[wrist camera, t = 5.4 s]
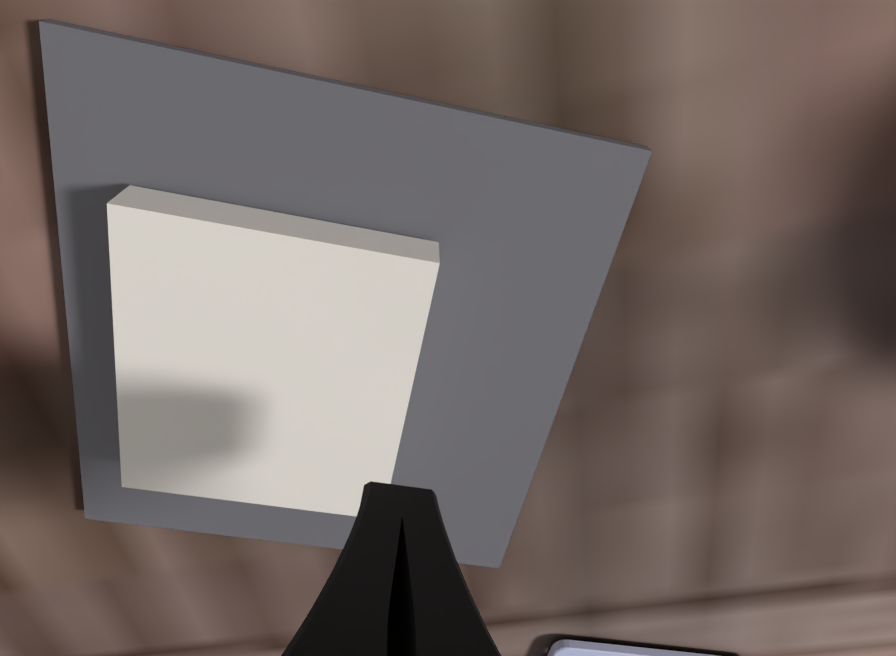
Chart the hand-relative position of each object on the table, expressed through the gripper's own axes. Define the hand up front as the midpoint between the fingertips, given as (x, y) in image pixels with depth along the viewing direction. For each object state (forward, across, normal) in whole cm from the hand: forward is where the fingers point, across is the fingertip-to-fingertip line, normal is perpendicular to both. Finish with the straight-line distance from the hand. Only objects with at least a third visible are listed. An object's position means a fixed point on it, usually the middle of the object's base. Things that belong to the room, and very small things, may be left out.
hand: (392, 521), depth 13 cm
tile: (+4, 0, 0) cm, 4 cm away
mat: (+6, +2, 0) cm, 6 cm away
